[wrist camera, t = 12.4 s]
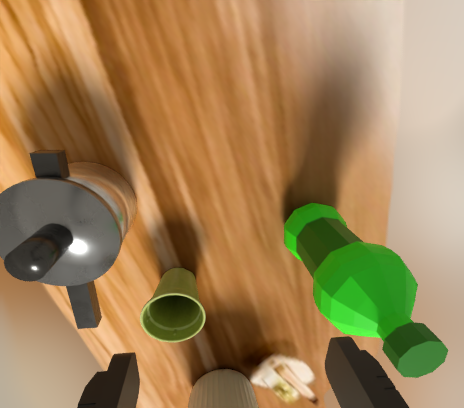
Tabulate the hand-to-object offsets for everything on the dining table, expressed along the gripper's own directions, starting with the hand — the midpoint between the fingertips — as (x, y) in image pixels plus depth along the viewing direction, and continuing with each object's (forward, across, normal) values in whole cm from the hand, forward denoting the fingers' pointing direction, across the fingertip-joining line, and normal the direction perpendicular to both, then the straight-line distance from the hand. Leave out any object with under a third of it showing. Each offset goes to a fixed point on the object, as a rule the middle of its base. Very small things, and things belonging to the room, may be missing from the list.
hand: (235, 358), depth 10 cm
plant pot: (+30, +6, +20) cm, 37 cm away
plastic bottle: (+30, -16, +9) cm, 35 cm away
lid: (+21, +18, +5) cm, 28 cm away
